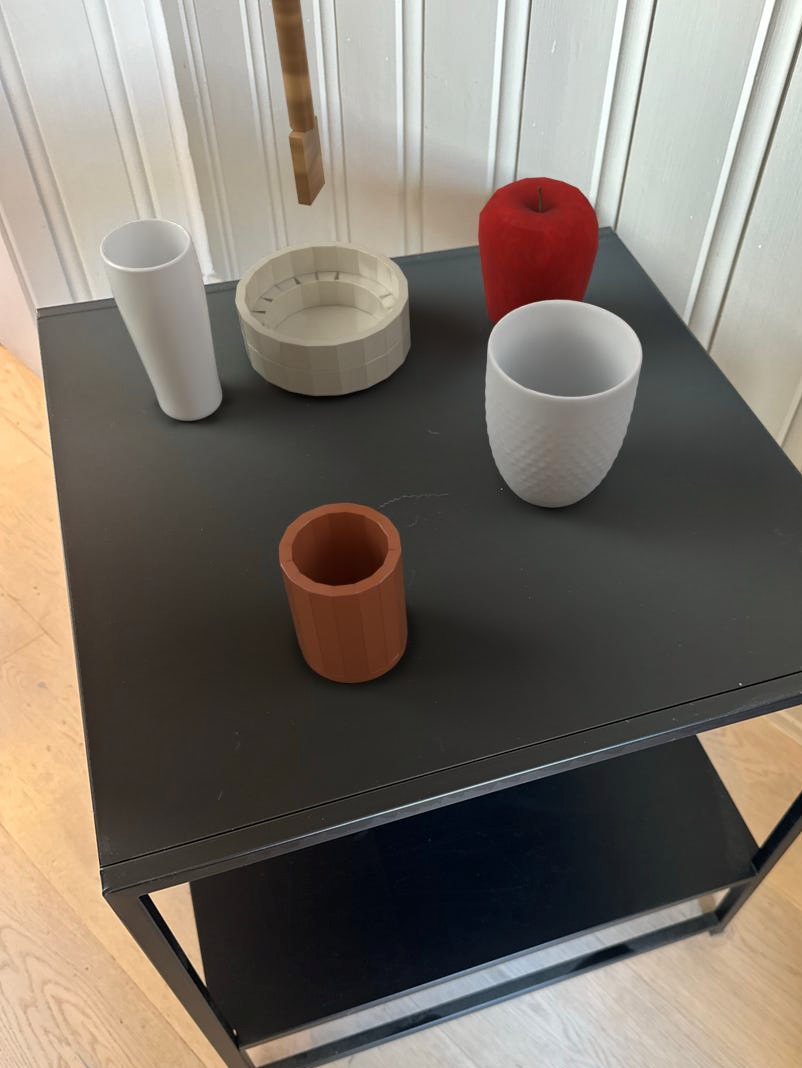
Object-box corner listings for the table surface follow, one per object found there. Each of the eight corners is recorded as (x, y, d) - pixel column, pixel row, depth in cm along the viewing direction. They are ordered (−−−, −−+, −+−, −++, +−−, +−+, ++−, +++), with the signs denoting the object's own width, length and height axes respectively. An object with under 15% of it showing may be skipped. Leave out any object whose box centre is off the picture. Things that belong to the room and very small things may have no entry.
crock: (285, 670, 66) (260, 581, 58) (321, 587, 70) (303, 493, 62) (389, 693, 65) (380, 606, 57) (419, 607, 69) (414, 515, 61)
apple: (570, 373, 85) (587, 232, 73) (461, 348, 86) (462, 207, 75) (598, 304, 90) (618, 164, 79) (496, 282, 92) (501, 142, 81)
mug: (457, 412, 81) (458, 277, 71) (579, 393, 83) (598, 259, 72) (501, 540, 73) (510, 410, 62) (636, 517, 75) (666, 386, 64)
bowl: (223, 386, 83) (208, 328, 78) (282, 288, 91) (272, 230, 86) (383, 416, 81) (379, 358, 76) (429, 313, 89) (427, 255, 84)
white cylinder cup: (218, 435, 79) (174, 275, 67) (140, 424, 80) (82, 265, 67) (242, 382, 83) (205, 222, 71) (168, 372, 83) (118, 212, 71)
